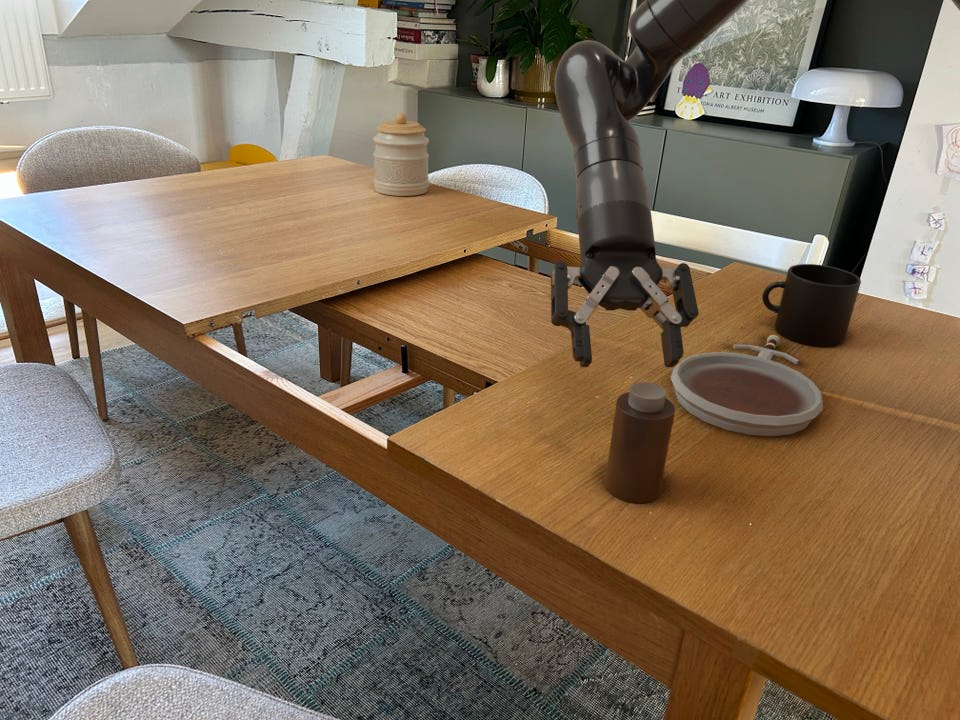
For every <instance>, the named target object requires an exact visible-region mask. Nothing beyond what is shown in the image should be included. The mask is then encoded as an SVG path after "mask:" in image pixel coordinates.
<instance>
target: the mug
mask: <svg viewBox="0 0 960 720" xmlns="http://www.w3.org/2000/svg"><path fill="white" fill-rule="evenodd" d="M861 284H862V280H861V277H859V276H858V275H856V274H854V273H853V272H850V271H848V270H845V269H842V268H838V267H835V266H830V265H824V264H814V263H802V264H795V265H794V264H793V265H791V266H789V268H788V269H787V273H786V276H785V280H781V281H774V282H772V283H770V284H768V285H767V286H766V287H765V288H764V290H763V292H762V302H763V305H764V307H765V308H767V309H768V310H769V311H771V312H772V313H775V314H777V315H776V319H775V323H774V327H775V331H776V332H777V333H778V334H779V335H780V336H782V337H784V338H786V339H788V340H790V341H792V342H794V343H798V344H802V345H806V346H811V347H812V346H813V347H823V348H824V347H835V346H839V345H841V344H842V343H843V342H844V341H845V339H846V337H847V333H848V329H849V325H850V322H851V320H852V316H853V312H854V308H855V305H856V302H857V299H858V294H859V291H860V288H861V287H860V286H861ZM777 288H780V289H782V294H781V298H780V301H779V302H780V303H779V305H777V304H776V305H775V304H773V303H772V302H771V301H770V298H769V295H770V293H771V292H772V291H773V290H774V289H777Z"/></svg>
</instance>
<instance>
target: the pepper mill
mask: <svg viewBox="0 0 960 720" xmlns="http://www.w3.org/2000/svg"><path fill="white" fill-rule="evenodd" d="M675 413H676V407H675V404H674V403H673V402H672V401H671V400H670V399H668V398H667V391H666V389H665V388H664V387H662V386H661V385H659V384H656V383H653V382H648V381H639V382H635V383H632V384H631V385H630V387H629V391H627V392H624V393H622V394H620V395H619V396H618V397H617V399H616V404H615V408H614V417H613V424H612V431H611V437H610V445H609V451H608V458H607V465H606V472H605V479H604V486H605V489H606V490H607V491H608V493H609V494H610V495H611V496H613V497H615V498H617V499H618V500H621V501H623V502H626V503H632V504H646V503H651V502H653V501H655V500H656V499H658V497H660V494H661V489H662V484H663V479H664V475H665V474H664V473H665V467H666V463H667V457H668V452H669V447H670V440H671V436H672V430H673V425H674V419H675Z"/></svg>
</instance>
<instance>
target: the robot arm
mask: <svg viewBox="0 0 960 720" xmlns="http://www.w3.org/2000/svg"><path fill="white" fill-rule="evenodd" d="M748 1H749V0H644V1H643V2H641V4H640V5H639V6H638V7H637V8H636V9H635V10H633V12H632V13H631V15H630V17H629V19H628V30H629V34H630V36H631V38H632V40H633V43H634V45H636V46H635V48H634V50H633V51H632V52H631V54H630V55H629V56H628V58H626V59H625V60H623V59H622V58H621V57H620V56H619V55H617V54H616V53H614V51H612V50H611V49H610V48H608V47H607V46H606V45H604V44H603V43H601V42H598V41H595V40H590V39H585V40H581V41H579V42H576V43H574V44H573V45H571V46H570V47H569V48H568V49H567V50H566V51H565V52H564V53H563V55H562V56H561V58H560V60H559V61H558V64H557V67H556V70H555V74H554V94H555V100H556V104H557V108H558V110H559V114H560V117H561V119H562V123H563V126H564V129H565V132H566V134H567V136H568V137H567V138H568V139H569V141H570V143H571V147H572V148H573V154H574V155H573V157H574V158H573V159H574V170H575V181H576V191H575V219H576V222H577V232H578V242H579V243H578V244H579V251H580V252H579V254H580V256H579V257H580V266H568V264H567V263H566V262H565V261H561V260H559V261H557V262H556V263H555V266H554V268H553V269H552V272H551V274H550V322H551V324H552V326H555V327H560V326H561V327H563V328H566V329H568V330H569V332H570V336H571V337H570V338H571V350H572V358H573V360H574V361H575V362H578V363H579V367H580V368H589V367H590V365H591V364H592V361H593V353H592V343H591V332H590V324H587V321H588V320H589V319H590V318H591V316H592V315H593V314H594V312H595V311H596V309H597V308H598V307H599V306H600V307H601V308H603V309H605V311H617V310H620V309H621V310H624V311H629V312H631V311H632V312H633V311H634V312H635V311H637V309H640V310H641V312H643V313H644V315H645V316H646V317H647V318H649V319H652V320H653V321H654V322H655V323H656V325H658V326H659V327H660V329H661V330H662V331H661V332H660V338H661V339H660V340H661V347H662V355H663V356H662V357H663V364H664V367H665V368H675V367H676V366H677V365H678V364H679V363H680V360H681V359H682V358H683V357H684V351H685V350H684V344H683V337H682V328H687V327H688V326H690V325H691V324H692V322H693V321H694V320H695V319H697V318H698V316H699V313H700V312H699V307H698V301H697V298H696V297H697V296H696V293H695V288H694V283H693V278H692V274H691V268H690V266H689V264H687V263H685V262H681V263H679V264H678V265H677V267H661V265H660V264H659V262H658V260H657V255H656V254H657V253H656V251H657V250H656V243H655V235H654V227H653V226H654V225H653V219H652V209H651V203H650V195H649V189H648V185H647V182H646V179H645V174H644V167H643V159H642V151H641V149H642V148H641V143H640V139H639V136H638V133H637V131H636V129H635V127H634V126H633V125H632V124H631V123H630V121H632V120H633V119H634V118H636V117H637V116H638V115H639V114H640V113H641V112H642V111H643V110H644V108H645V107H646V106H647V105H648V103H649V102H650V101H651V99H652V98H653V97H654V95H655V94H656V93H657V92H658V90H659V88H660V87H661V86H662V85H663V83H664V82H665V81H666V80H667V78H668V77H669V75H670V74H671V72H672V71H673V69H674V68H675V67H676V66H677V64H678V63H679V62H680V61H681V60H682V59H684V58H686V56H687V55H688V54H689V53H691V52H692V51H693V50H694V49H696V48H697V47H698V46H699V45H701V44H702V43H703V42H704V41H705V40H707V39H708V38H709V37H710V36H711V35H713V34H714V33H715V32H716V31H717V30H718V29H720V28H721V27H722V26H723V25H724V24H725V23H726V22H728V21H729V20H730V18H732V17H733V16H734V15H735V14H736V13H737V12H738V11H739V10H740V9H741V8H742V7H743V6H745V5H746V3H747V2H748ZM951 2H952V3H953V4H954V5H955V7H956V8H957V9H958V10H959V11H960V0H951ZM577 280H578V283H579V284H580V285H581V287H583V289H584V290H585V291H586V292H587V293H588V295H587V297H586V299H585V300H584V302H583V303H582V305H581V306H580V307H579V309H578V310H577V311H573V310H570V309H569V289H571V288H572V286H573V284H574V282H575V281H577ZM661 281H662V282H663V283H665V285H666V287H667V290H671V291H672V298H673V302H674V306H673V305H672V304H671V303H670V301H669V297H668V296H667V295H666V294H665V293H664V292H663V290H662V289H660V287H659V286H658V285H659V284H660V283H661Z"/></svg>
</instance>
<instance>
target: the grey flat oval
mask: <svg viewBox="0 0 960 720" xmlns="http://www.w3.org/2000/svg"><path fill="white" fill-rule="evenodd" d="M780 344H781V338H780V337H779V336H778V335H776V334H770V335H769V336H768V337H767V338H766V344H765V347H763V346H756V345H753V344H738V343H734V344H733V347H732V348H733V350H734V349H735V350H752V351H756V352H759V353H758V354H757V356H756V355H751V354H745V353H740V352H726V351H725V352H724V351H715V352H704V353H703V352H702V353H698V354H694V355H691V356H688V357H686V358H684V359H683V360H681V361H679V362H678V363H677V364H676V365H675V366H674V367H673V370H672V372H671V376H670V380H671V382H672V385H673V388H674V393H675V397H676V399H677V402H678V403H679V404H680V405H681V406H682V407H683V408H684V409H685V410H686V411H687V412H688V413H690V415H693V416H694V417H696V418H698V419H700V420H701V421H703V422H705V423H707V424H710V425H712V426H714V427H717V428H720V429H723V430H725V431H729V432H735V433H739V434H744V435H748V436H758V437H759V436H760V437H761V436H762V437H780V436H788V435H793V434H795V433H798V432H800V431H802V430H805V429H806V428H807V427H808V426H809V425H810V423H811V422H812V421H813V420H814V419H816V418H817V417H818V416H819V414H820V413H821V412H822V411H823V410H824V399H823V395H822V392H821V390H820V389H819V387H818V386H817V385H816V384H815V383H814V381H813V380H811V379H810V378H809V377H807V376H806V375H804V374H803V373H802V372H800V371H798V370H797V369H794V368H792V367H789V366H788V365H785V364H783V363H780V362H778V361H774V360H772V359H773V356H777V357H781V358H784V359H786V360H788V361H789V362H791V363H794V364H795V365H798V364H799V361H800V359H797V358H796V357H794V356H792V355H790V354H788V353H786V352H783V351H779V350H775V349H776V347H778V346H779V345H780Z"/></svg>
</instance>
